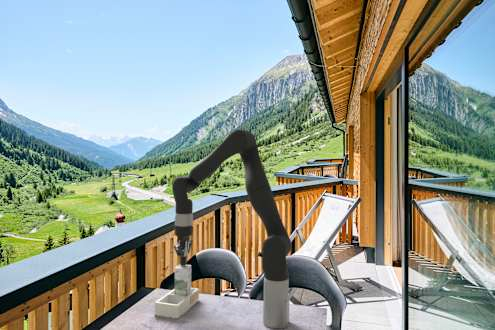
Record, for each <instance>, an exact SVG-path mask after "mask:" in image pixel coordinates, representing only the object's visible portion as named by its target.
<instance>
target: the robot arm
mask: <svg viewBox="0 0 495 330" xmlns="http://www.w3.org/2000/svg"><path fill="white" fill-rule="evenodd" d="M256 139H257V138H256V137H255V136H254V134H253V133H252V132H250V131H249V130H246V129H234V130H233V131H231V132H230V133H229V134H227V136H226V137H225V138H224V140H223V141H221V143H220V144H219V145H218V146H217V147H216V148H215V149H213V151H212V152H210V153H209V154H208V155H207V156H206V157H204V158H203V159H202V160H201V161H199V162H197V163H196V164H195V165H194V166H193V167H192V168H191V169H190V171H189V174H188V175H185V176H183V175H182V176H177V177H175V179H173V181H172V186H171V187H172V194H173V198H174V202H175V214H174V215H175V217H174V236H176V237H177V240H176V244H175V245H174V246H173V249H174V252H175V253H176V255H177V256H179V257H180V258H179V259H180V260H179V264H180V265H183V266H184V265H187V257H188V255H189V254H190V251H191V248H192V245H193V240H192V239H191V237H192V236H193V234H194V214H193V208H194V206H193V205H194V204H193V200H192V199H190V198H189V196H188V193H192V192H194V191H195V190H196V189H197V188H198V187H200V186H201V184H202V183H203V182H204V181H206V180H207V179H208V178H210V177H211V176H212V175H213V174H214V173H215V172H217V171H218V169H219V168H220V167H221V165H222V164H223V163H224V162H225V161H227V160H228V159H230V158H231V157H234V156H235V155H237V154H238V155H239V156H240V158H241V161H242V163H243V167H244V175H245V176H244V181H245V183H244V184H245V185H244V186H245V192H246V193H247V197H248V200H249V202H250V206H251V207H252V209H253V210H254V212H255V214H257V216H258V217H259V219H260V220H261V222H262V223H263V226H264V229H265V232H266V235H267V237H266V238H265V239H264V241H263V243H262V247H261V257H262V258H261V266H262V272H263V305H262V306H263V310H262V312H263V313H262V319H263V320H262V322H263V325H264V326H265V327H267V328H270V329H286V328H288V325H289V322H290V296H289V285H290V283H289V281H290V279H289V278H290V277H289V276H290V271H289V270H288V268H287V256H288V255H289V254H290V253H291V250H292V241H291V238H290V236H289V234H288V232H287V229H286V228H285V224H284V223H283V221H282V218H281V216H280V212H279V208H278V205H277V203H276V200H275V197H274V193H273V191H272V188H271V185H270V182H269V179H268V177H267V174H266V171H265V169H264V166H263V163H262V159H261V157H260V151H259V148H258V143H257V140H256Z"/></svg>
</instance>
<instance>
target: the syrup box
mask: <svg viewBox="0 0 495 330" xmlns="http://www.w3.org/2000/svg"><path fill="white" fill-rule="evenodd" d="M174 288H175V294H177V295H184V296H188V295H189V294H190V293H191V288H192V265H191V264H186V265H184V266H183V265H180V263H179V264H177V265H176V266H175V267H174Z"/></svg>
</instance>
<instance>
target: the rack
mask: <svg viewBox="0 0 495 330" xmlns="http://www.w3.org/2000/svg"><path fill="white" fill-rule="evenodd" d="M199 297H200V289H199V288H198V287H191V293H190V294H189V295H188V296H184V295H177V294H175V287H174V288H173V289H172V290H170V291H169V292H167V293H166V294H164V295H163V296H161V298H159V299H158V300H156V301H155V302H154V316H156V315H157V316H158V317H162V316H163V318H169V317H171V318H170V319H175V318H178V319H180V318H181V317H182V316H183V315H184V314H185V313H186V312H187V311H189V309H191V308H192V307H193V306H194V305H195V304H196V303H198V302H199V301H200V300H199V299H200V298H199ZM182 314H183V315H182ZM181 315H182V316H181ZM180 316H181V317H180ZM179 317H180V318H179Z"/></svg>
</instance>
